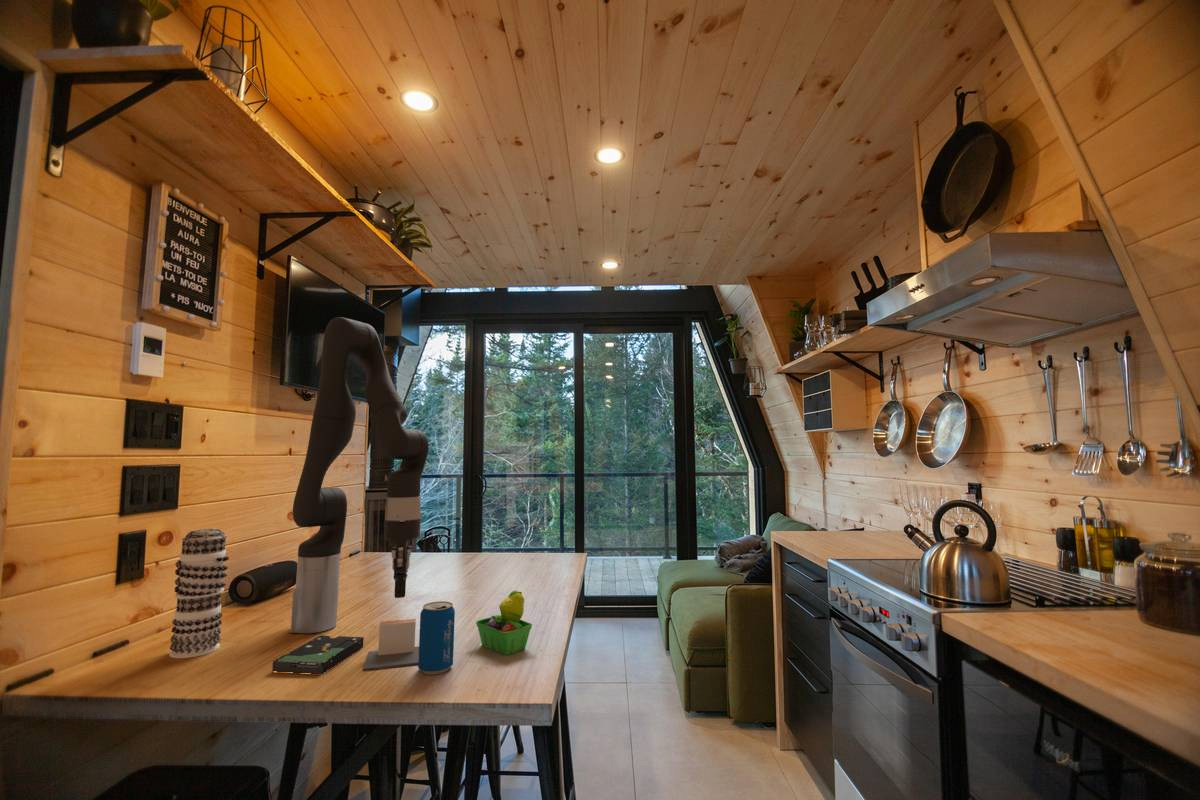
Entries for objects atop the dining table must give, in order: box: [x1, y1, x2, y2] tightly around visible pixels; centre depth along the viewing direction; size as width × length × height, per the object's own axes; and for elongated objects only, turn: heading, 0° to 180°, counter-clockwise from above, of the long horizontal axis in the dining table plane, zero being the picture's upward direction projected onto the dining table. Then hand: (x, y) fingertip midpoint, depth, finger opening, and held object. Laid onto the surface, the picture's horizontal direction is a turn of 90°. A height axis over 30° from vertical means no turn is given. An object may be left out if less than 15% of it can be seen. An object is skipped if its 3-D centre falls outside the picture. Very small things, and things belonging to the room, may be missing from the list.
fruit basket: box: [475, 590, 533, 656], centre depth 114 cm, size 11×9×11 cm
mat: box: [362, 646, 419, 671], centre depth 106 cm, size 11×9×1 cm
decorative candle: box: [168, 528, 230, 659], centre depth 111 cm, size 9×9×25 cm
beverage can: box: [417, 600, 456, 675], centre depth 102 cm, size 6×6×12 cm
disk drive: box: [271, 635, 365, 675], centre depth 106 cm, size 10×3×15 cm
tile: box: [377, 618, 417, 655], centre depth 109 cm, size 7×2×6 cm, turn 108°
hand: (399, 596), depth 115 cm, fingers closed
